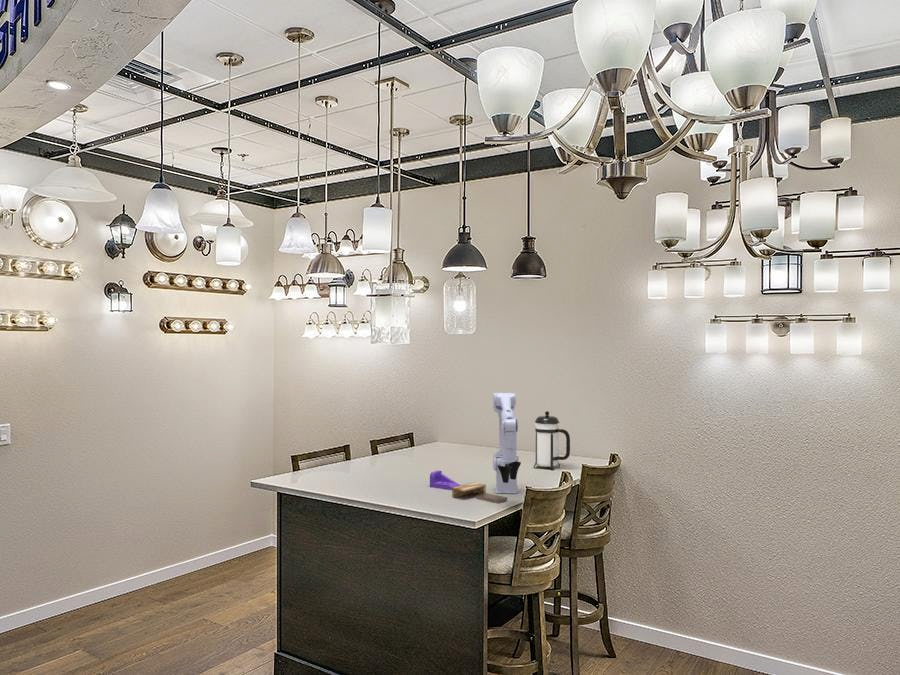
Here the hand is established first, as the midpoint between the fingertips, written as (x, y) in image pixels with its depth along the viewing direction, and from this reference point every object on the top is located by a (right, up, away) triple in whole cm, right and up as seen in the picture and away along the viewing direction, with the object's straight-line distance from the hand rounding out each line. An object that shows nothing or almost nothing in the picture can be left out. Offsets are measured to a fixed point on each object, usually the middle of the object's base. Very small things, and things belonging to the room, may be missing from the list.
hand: (509, 480), depth 273 cm
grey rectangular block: (-7, -10, +7) cm, 14 cm away
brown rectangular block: (-16, -9, +13) cm, 23 cm away
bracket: (-27, -10, +30) cm, 42 cm away
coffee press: (+28, -10, +77) cm, 83 cm away
